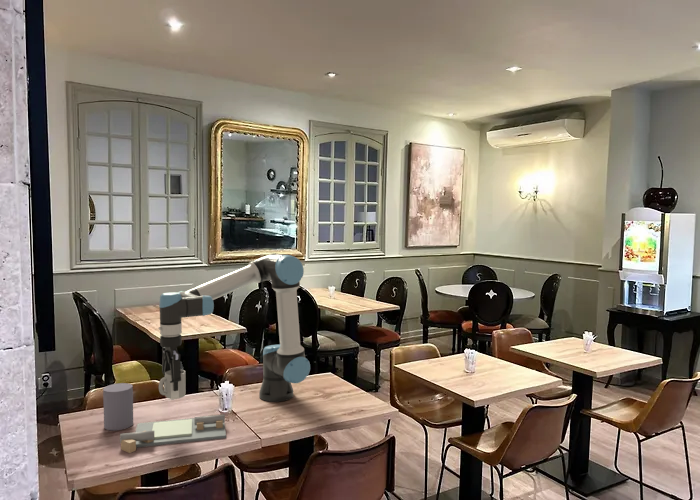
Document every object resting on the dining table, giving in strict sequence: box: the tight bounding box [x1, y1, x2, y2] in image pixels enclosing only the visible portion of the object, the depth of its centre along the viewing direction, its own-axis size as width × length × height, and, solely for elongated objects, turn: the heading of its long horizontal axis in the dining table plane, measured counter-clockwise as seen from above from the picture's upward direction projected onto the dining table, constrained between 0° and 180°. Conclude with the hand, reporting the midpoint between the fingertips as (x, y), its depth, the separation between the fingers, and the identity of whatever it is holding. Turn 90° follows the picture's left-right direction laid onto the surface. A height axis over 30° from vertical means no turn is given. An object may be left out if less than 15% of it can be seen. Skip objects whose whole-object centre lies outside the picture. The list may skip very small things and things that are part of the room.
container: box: [102, 382, 134, 432], centre depth 204 cm, size 10×10×15 cm
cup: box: [158, 369, 187, 400], centre depth 197 cm, size 7×10×9 cm
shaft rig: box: [119, 414, 227, 454], centre depth 197 cm, size 36×24×5 cm
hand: (171, 395), depth 198 cm, fingers closed on cup, 7 cm apart
